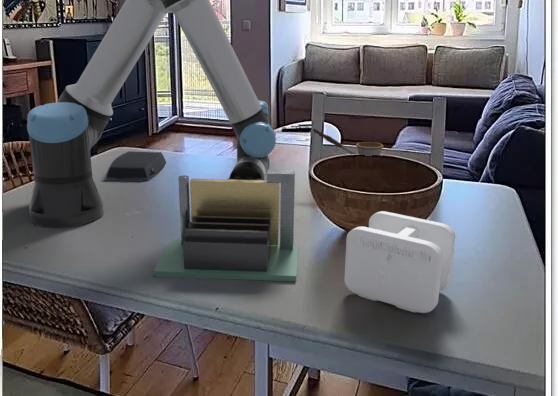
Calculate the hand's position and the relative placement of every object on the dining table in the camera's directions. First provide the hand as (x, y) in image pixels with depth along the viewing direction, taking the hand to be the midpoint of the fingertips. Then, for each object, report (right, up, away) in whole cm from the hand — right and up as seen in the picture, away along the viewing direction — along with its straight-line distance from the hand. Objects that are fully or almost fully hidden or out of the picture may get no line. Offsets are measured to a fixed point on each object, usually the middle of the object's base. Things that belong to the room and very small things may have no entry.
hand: (232, 211), depth 113 cm
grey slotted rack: (+1, -9, -6) cm, 10 cm away
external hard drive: (-30, +9, +52) cm, 61 cm away
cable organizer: (+28, -13, -17) cm, 35 cm away
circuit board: (0, -9, -6) cm, 11 cm away
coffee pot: (+26, +3, +34) cm, 43 cm away
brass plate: (+1, -6, -1) cm, 6 cm away
